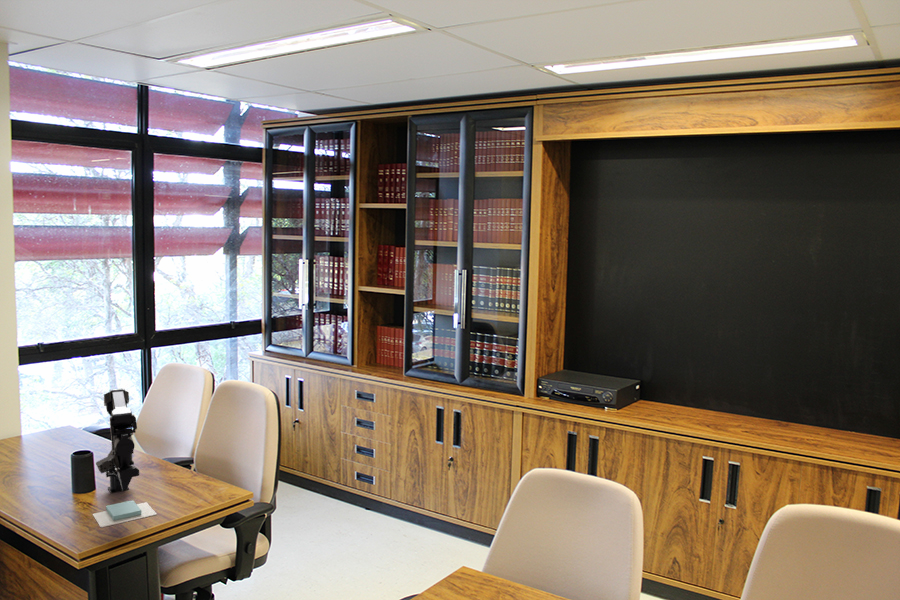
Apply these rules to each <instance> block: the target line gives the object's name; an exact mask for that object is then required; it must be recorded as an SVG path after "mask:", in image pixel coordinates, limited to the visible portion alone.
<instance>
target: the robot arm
mask: <svg viewBox="0 0 900 600" xmlns="http://www.w3.org/2000/svg"><path fill="white" fill-rule="evenodd" d="M129 403H130V394H129V391H128V390H125V388H115V389H110V390H109V392H106V393H104V394H103V406H104V407H105V408H106V412H107V414H108V415H109V428H110V429H109V430H110V435H111V436H110V437H111V439H110V441H111V450H110V451H109V453H108V454H107V457H104V458H101V459H100V460H98V461H96V462H95V465H96V467H97V469H98V471H99V473H100V474H104V473H105V478H108V477H109V486H108V487H107V489H108V491H109V493H111V494H114V493H119V492H126V491H128V490H130V488H129V485H130V483H131V481H132V479H133V478H135V477H138V476H139V477H140V469H139V468H138V467H136V466H135V461H133V454H134V450H135V442H134V440H133V437H132V434H134V433H136V430H138V426H137V424H138V423H137V418H136V416H135V414H133V413H132V409H131V408H130V407H129V408H128V404H129Z"/></svg>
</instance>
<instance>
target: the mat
mask: <svg viewBox="0 0 900 600" xmlns="http://www.w3.org/2000/svg"><path fill="white" fill-rule="evenodd" d="M136 504H137V506H138V507H139V508H140V509H141V515H136V516H132V517H127V518H123V519H119V520H113V519H112V518H111V516H110V515H109V513H108V512H107V510H104V511H99V512H96V513H92V516H93V518H94V519H95V521H96V523H97V524H98V526H99V528H106V527H110V526H114V525H118V524H123V523H127V522H132V521H136V520H140V519H144V518H149V517H154V516H157V515H158V514H157V512H156V511H155V510H154V509H153V508H152V507H151V505H149V503H148V502H147V501H145V502H142V503H136Z"/></svg>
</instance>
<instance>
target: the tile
mask: <svg viewBox="0 0 900 600" xmlns="http://www.w3.org/2000/svg"><path fill="white" fill-rule="evenodd" d="M137 504H138V503H136V502H135V501H134V500H127V501H123V502H116V503H114V504H109V505H106V506H105V511H107V512H108V513H109V515H110V516H111V518H112V519H113V520H119V519H123V518H127V517H132V516H136V515H141V509H140V508H139V507H138V506H137Z"/></svg>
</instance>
